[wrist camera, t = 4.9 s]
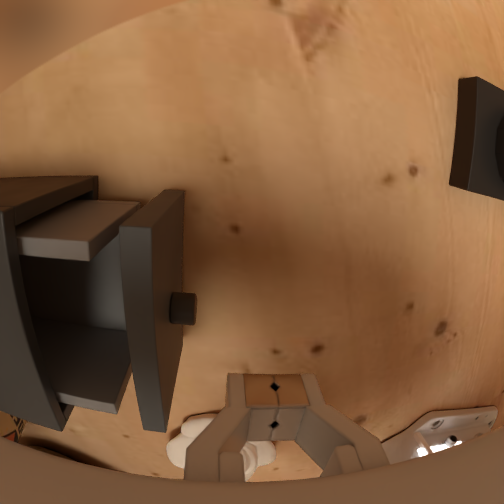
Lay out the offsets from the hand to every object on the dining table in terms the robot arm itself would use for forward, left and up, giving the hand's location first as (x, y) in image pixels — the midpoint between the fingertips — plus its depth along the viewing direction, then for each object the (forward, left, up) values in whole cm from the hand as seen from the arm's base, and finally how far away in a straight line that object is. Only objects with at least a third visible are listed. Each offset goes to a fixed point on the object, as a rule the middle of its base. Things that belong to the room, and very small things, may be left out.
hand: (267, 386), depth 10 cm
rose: (+1, +18, -11) cm, 21 cm away
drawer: (+10, 0, -10) cm, 14 cm away
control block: (-19, -11, -11) cm, 24 cm away
